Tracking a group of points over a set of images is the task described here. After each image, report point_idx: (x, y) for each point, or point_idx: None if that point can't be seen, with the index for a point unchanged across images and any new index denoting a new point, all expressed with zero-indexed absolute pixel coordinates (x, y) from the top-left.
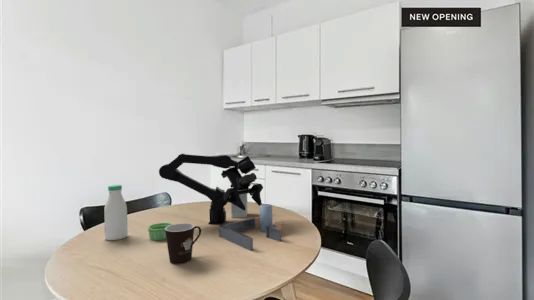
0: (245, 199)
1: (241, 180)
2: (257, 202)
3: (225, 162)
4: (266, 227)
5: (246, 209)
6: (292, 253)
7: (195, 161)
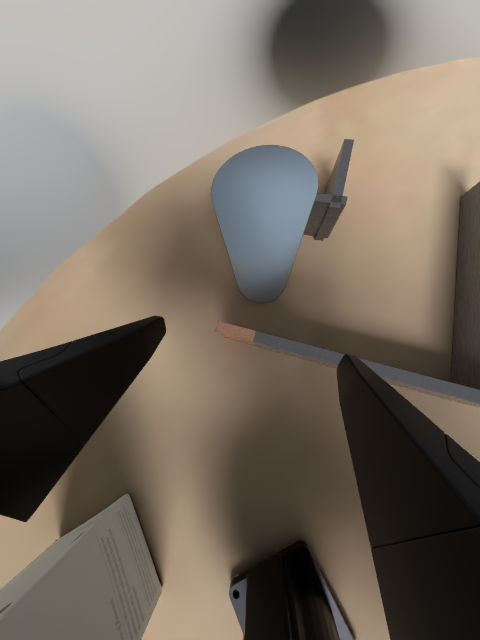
0: None
1: None
2: (132, 367)
3: None
4: (344, 203)
5: (80, 535)
6: (390, 115)
7: None
